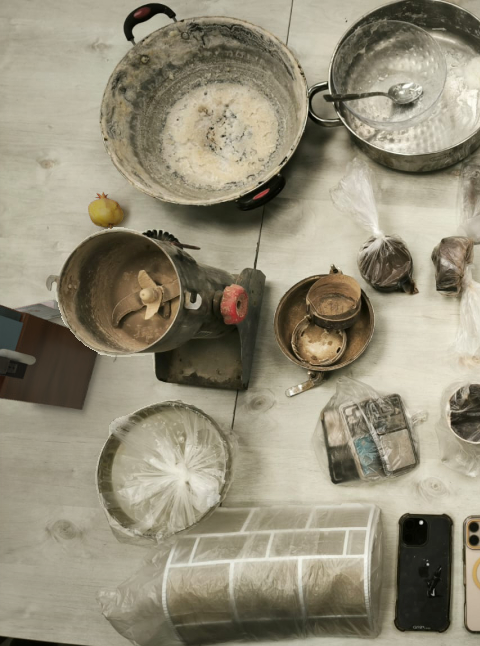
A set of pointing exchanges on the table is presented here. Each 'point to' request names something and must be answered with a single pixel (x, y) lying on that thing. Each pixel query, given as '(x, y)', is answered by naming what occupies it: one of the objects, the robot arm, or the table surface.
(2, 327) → the door
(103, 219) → the fruit
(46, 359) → the cabinet
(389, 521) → the table surface
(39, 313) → the ink box
